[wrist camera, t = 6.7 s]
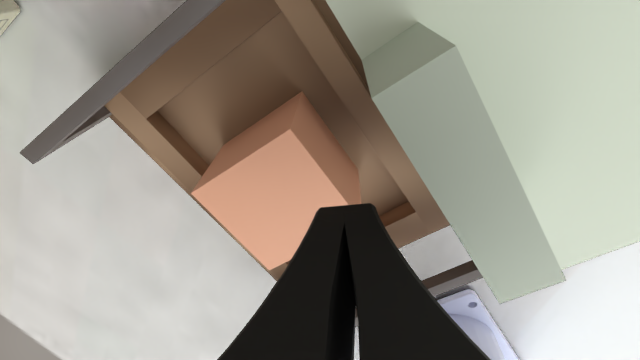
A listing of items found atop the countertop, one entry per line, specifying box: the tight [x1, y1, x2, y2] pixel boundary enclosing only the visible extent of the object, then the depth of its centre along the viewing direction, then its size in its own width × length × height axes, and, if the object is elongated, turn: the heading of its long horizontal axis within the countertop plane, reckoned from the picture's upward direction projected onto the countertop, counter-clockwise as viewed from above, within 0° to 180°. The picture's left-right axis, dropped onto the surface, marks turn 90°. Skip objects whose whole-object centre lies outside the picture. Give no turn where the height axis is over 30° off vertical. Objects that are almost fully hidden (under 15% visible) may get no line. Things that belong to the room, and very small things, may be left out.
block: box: [191, 92, 361, 270], centre depth 14 cm, size 4×4×4 cm
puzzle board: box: [20, 0, 483, 327], centre depth 13 cm, size 13×22×5 cm, turn 125°
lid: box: [326, 0, 640, 304], centre depth 7 cm, size 13×8×4 cm, turn 35°
